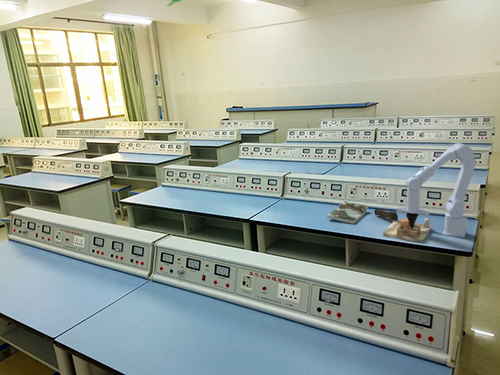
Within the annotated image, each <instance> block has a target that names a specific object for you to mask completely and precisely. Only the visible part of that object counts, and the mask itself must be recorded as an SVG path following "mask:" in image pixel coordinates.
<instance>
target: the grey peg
mask: <svg viewBox="0 0 500 375" xmlns="http://www.w3.org/2000/svg"><path fill="white" fill-rule="evenodd" d="M423 224H424V227H426V228H429V227H430V225H431V219H430V218H427V217H426V218H424V219H423Z"/></svg>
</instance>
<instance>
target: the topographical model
mask: <svg viewBox="0 0 500 375" xmlns="http://www.w3.org/2000/svg"><path fill="white" fill-rule="evenodd" d="M368 209H369V206H368V205H365V204H359V203H354V202H350V201H344V200H342V202H340V203H339V205H338V206H337V208H335V209H334V210H332V211H331V212H329V213H327V215H326V218H327V219H331V220H334V221H340V222H343V223H348V224H353V225H354V224H355V223H357V221H359V220H360V219H361V218H362V217H364V216H365V215H366V212H367V210H368Z"/></svg>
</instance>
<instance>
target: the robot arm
mask: <svg viewBox="0 0 500 375" xmlns="http://www.w3.org/2000/svg"><path fill="white" fill-rule="evenodd" d="M474 152H475V151H474V150H473V149H472V148H471V147H470V146H469V145H465V144H463V143H461V142H456V143H454V144H453V145H451V146H450V147H448V148H447V149H446V150H445V151H444V152H443V153H442V154H441V155H440V156H439V157H438V158H437V159H436V160H434V162H432V163H431V164H430V165H429V166H427V165H426V166H424V167H423V166H421V168H420V170H418V171H417V172H416V173H415V174H412V176H410V177H409V178H408V179H407V180H406V182H405V185H406V186H407V188H406V189H407V192H406V207H397V208H396V213H402V214H406V215H405V216H406V219H408V220H409V223H410V228H413V227H414V224H415V223H416V221H417V218H418V217H419V216H426V217H428V216H429V215H430V211H428V210H424V209H421V208H420V200H421V199H420V194H421V193H420V191H421V190H420V189H422V187H423V184H425V183H426V182H428V181H429V180H430V179H431V178H432V177H434V175H435V172H436V171H437V170H438V169H439V168H440V167H442V166H444V165H445V164H446V163H448V162H449V161H456V160H459V162H460V163H461V168H460V170H459V173H458V176H457V179H456V183H455V185H454V189H453V191H452V195H450V197H449V198H448V200H447V201H446V202H445V204H444V207H443V208H444V210H445V211H446V212H445V215H444V230H443V231H442V234H441V235H445V236H451V237H458V238H465V236H466V234H467V229H468V228H467V227H468V225H467V224H468V217H465V216H464V214H465V197H466V195H467V194H466V193H467V190H468V188H469V186H470V183H471V179H472V176H473V175H474V171H475V167H476V165H477V163H476V162H477V161H476V158H475V153H474ZM414 228H415V227H414Z"/></svg>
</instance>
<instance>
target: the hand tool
mask: <svg viewBox="0 0 500 375" xmlns="http://www.w3.org/2000/svg"><path fill="white" fill-rule="evenodd" d="M373 212H374V215H375V216H380V217H383V218H387V219H389V220H390V221H393V222H394V221H399V216H398V212H397V211H387V210H384V209H380V208H376V209H374V211H373Z"/></svg>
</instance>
